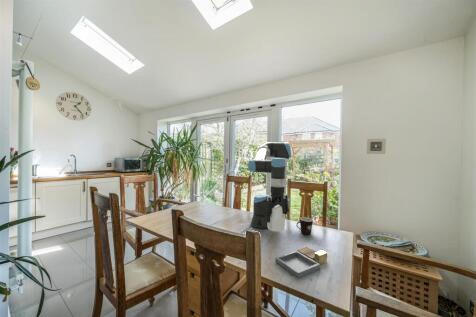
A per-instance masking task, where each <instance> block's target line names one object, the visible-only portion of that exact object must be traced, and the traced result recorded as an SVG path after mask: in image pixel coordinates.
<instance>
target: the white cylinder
mask: <svg viewBox="0 0 476 317" xmlns="http://www.w3.org/2000/svg"><path fill="white" fill-rule="evenodd" d="M271 216H272V229H270V228H267V229H268V230H269V231H271V232H283V231H285V226H286V219H285V218H284V217H283V209H282V206H280V205H276V206H275V207H274V208H272V214H271Z"/></svg>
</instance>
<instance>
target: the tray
mask: <svg viewBox="0 0 476 317" xmlns="http://www.w3.org/2000/svg"><path fill="white" fill-rule="evenodd" d="M274 261H275V262H274V263H276V265H278V266H280V267H281V268H282V269H284V270H285V271H287V273H289V274H291V275H292V276H293V277H294V278H296V279H301V278H303V277H306V276H307V275H310V274H312V273H314V272H315V273H316V272H318V271H319V270H321V265H320V264H319V263H317V262H315V261H314V260H312V259H310V258H308V257H306V256H305V255H303V254H301V253H299V252H298V251H297V250H295V251H291V252H289V253H285V254H282V255H279V256H276V257H275V260H274Z"/></svg>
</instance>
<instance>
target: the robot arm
mask: <svg viewBox="0 0 476 317" xmlns="http://www.w3.org/2000/svg"><path fill="white" fill-rule="evenodd" d="M268 158H271V159H270V160H269V159H268ZM290 158H292V149H291V144H290V143H289V142H285V141H282V142H279V141H278V142H277V141H276V142H275V141H274V142H273V141H269V142H266V143H263V144H261V145H260V146H259V147H258V148H257V153H256V155H255V157H254V159H249V160H248V162H247V169H248V170H247V171H248V172H250V173H264V174H265V173H267V174H270V195H269V194H265V193H264V194H258V195H255V196H254V197H253V205H252V206H253V207H252V208H253V210H252V218H251V220H250V226H251V227H252V228H254V229H257V230H265V229H266V230H267V229H268V228H270V229H272V216H271V214H272V208H274V207H275V206H276V205H280V206H282V209H283V217H284V218H285V220H287V219H286V218H287V215H288V214H289V212H290V209H289V208H290V200H291V198H289V196H288V194H287V172H288V170H287V168H288V162H289V160H290ZM267 159H268V160H267ZM270 229H269V230H270Z"/></svg>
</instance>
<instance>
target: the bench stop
mask: <svg viewBox="0 0 476 317" xmlns="http://www.w3.org/2000/svg"><path fill="white" fill-rule="evenodd" d="M314 261H315V262H317V263H319V264H320V266H321V265H323V264H326V263H327V262H328V252H326V251H325V250H323V249H321V250H318V251H316V253H315V258H314Z"/></svg>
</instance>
